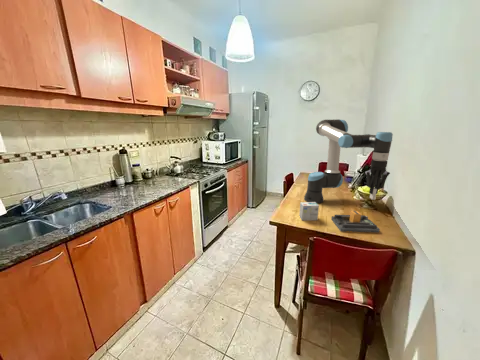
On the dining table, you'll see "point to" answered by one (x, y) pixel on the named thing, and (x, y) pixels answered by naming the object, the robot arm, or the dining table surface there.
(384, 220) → the dining table surface
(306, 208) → the light bulb box
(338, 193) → the dining table surface
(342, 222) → the breaker panel
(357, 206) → the dining table surface
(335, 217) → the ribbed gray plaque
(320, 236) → the dining table surface
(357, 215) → the lever
